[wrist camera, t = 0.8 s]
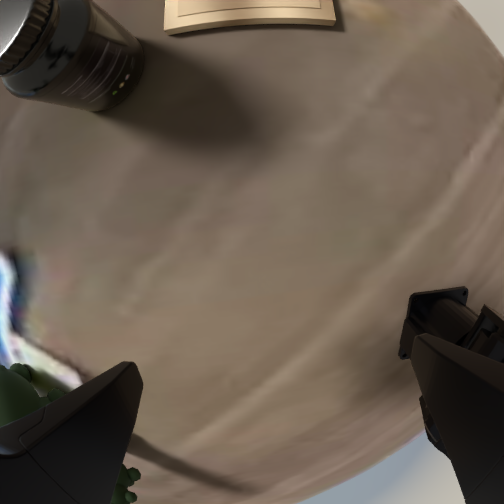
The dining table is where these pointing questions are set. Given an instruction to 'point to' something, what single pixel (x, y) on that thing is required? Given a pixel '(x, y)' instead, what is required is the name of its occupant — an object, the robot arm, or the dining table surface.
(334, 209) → the dining table surface
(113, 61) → the supplement bottle
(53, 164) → the dining table surface
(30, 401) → the toy figurine
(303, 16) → the coaster
